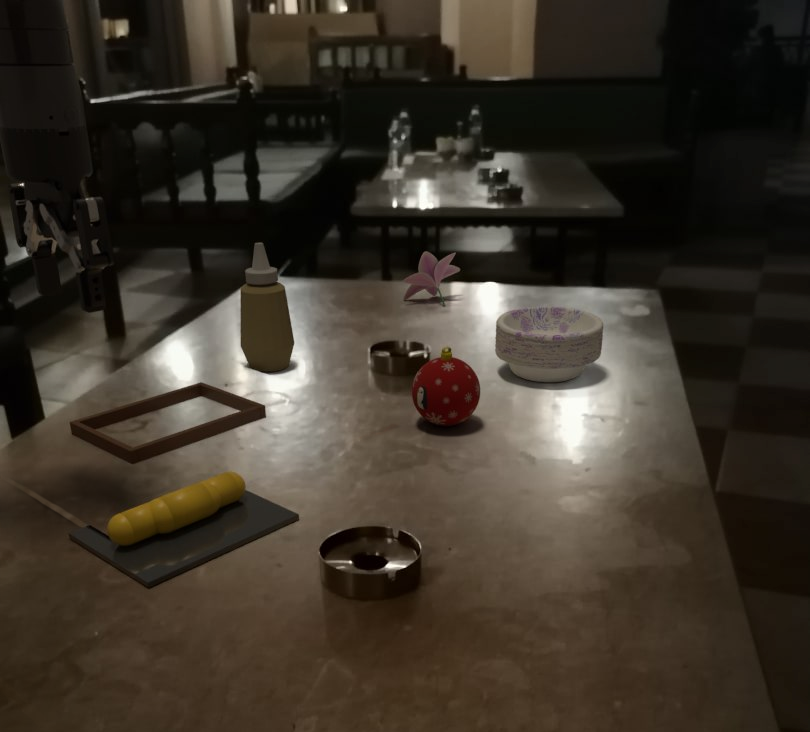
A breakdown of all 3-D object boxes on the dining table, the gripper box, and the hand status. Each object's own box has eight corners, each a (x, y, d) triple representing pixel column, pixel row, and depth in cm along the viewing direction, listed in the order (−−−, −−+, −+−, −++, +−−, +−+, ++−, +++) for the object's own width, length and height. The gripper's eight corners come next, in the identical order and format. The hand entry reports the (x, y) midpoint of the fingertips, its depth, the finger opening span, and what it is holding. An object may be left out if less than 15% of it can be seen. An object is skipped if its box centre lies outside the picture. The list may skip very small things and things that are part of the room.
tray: (133, 471, 104) (130, 451, 103) (72, 440, 112) (69, 421, 111) (266, 423, 116) (265, 405, 115) (203, 399, 124) (201, 382, 123)
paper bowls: (518, 395, 125) (521, 338, 121) (479, 362, 137) (480, 310, 133) (618, 383, 128) (624, 328, 124) (570, 353, 141) (575, 302, 137)
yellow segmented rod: (128, 554, 84) (116, 518, 83) (108, 551, 87) (96, 516, 86) (260, 498, 94) (251, 465, 93) (238, 498, 97) (229, 465, 96)
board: (148, 588, 81) (147, 582, 81) (69, 538, 90) (68, 533, 90) (299, 519, 93) (299, 514, 93) (216, 480, 101) (216, 475, 101)
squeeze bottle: (299, 358, 140) (291, 237, 131) (292, 375, 133) (283, 249, 124) (247, 358, 140) (236, 238, 132) (237, 375, 133) (224, 249, 125)
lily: (470, 301, 173) (452, 253, 172) (475, 291, 162) (457, 239, 161) (411, 323, 174) (393, 275, 173) (412, 315, 162) (393, 263, 161)
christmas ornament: (493, 425, 115) (496, 348, 110) (440, 441, 110) (441, 362, 106) (449, 406, 121) (451, 333, 116) (398, 421, 116) (397, 345, 112)
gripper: (-35, 118, 83) (1, 296, 91) (40, 129, 74) (73, 324, 82) (42, 114, 88) (70, 283, 96) (121, 124, 79) (145, 309, 87)
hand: (72, 302), depth 89 cm, fingers open, 8 cm apart
